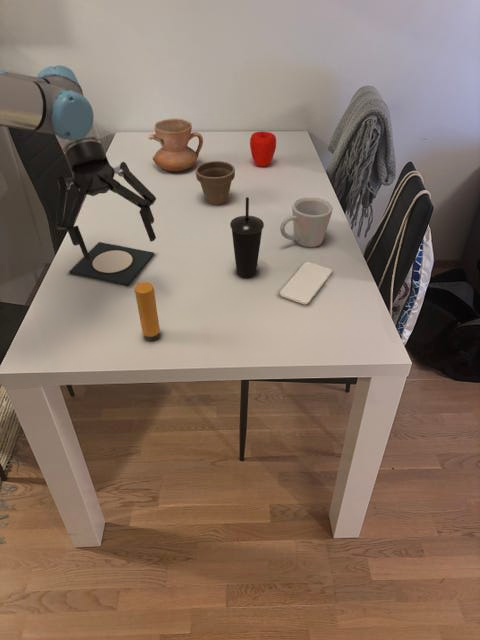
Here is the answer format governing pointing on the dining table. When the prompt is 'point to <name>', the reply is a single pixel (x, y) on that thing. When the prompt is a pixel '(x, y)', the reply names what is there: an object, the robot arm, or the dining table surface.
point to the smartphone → (305, 283)
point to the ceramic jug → (175, 144)
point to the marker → (147, 310)
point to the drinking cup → (246, 242)
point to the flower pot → (215, 180)
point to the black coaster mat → (112, 263)
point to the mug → (308, 221)
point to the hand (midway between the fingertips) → (121, 249)
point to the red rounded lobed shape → (262, 147)
